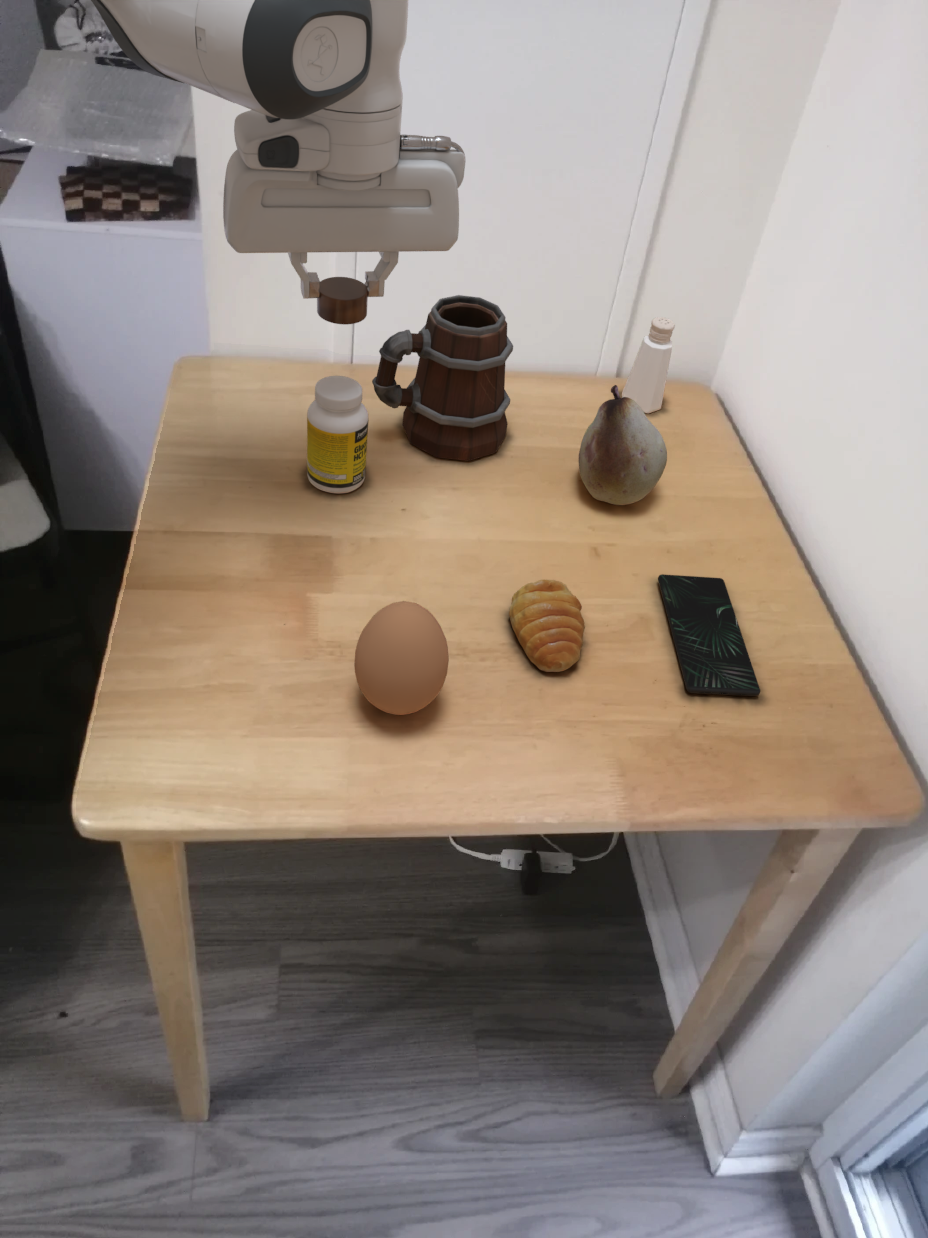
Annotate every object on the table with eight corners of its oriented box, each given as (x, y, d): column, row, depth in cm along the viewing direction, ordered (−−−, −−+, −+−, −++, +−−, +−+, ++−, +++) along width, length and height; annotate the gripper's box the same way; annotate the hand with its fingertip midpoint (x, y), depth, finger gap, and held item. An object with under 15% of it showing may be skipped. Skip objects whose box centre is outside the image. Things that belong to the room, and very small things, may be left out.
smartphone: (688, 688, 83) (658, 572, 94) (685, 696, 84) (655, 580, 94) (762, 692, 84) (724, 577, 94) (758, 699, 85) (721, 584, 95)
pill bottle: (362, 498, 98) (367, 407, 91) (303, 492, 98) (303, 400, 90) (367, 464, 103) (372, 374, 95) (311, 458, 102) (311, 367, 95)
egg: (342, 726, 77) (345, 634, 69) (364, 660, 82) (370, 568, 75) (432, 745, 77) (446, 655, 69) (449, 678, 82) (463, 587, 74)
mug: (484, 401, 115) (502, 283, 104) (516, 458, 107) (539, 338, 96) (359, 408, 110) (364, 287, 100) (382, 469, 102) (390, 344, 92)
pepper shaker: (613, 391, 120) (634, 310, 112) (652, 389, 121) (675, 310, 114) (628, 414, 116) (651, 333, 109) (668, 413, 118) (693, 332, 110)
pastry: (593, 676, 84) (602, 647, 81) (519, 678, 83) (526, 649, 80) (571, 603, 91) (579, 574, 88) (503, 604, 90) (508, 574, 87)
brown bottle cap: (321, 325, 85) (321, 300, 83) (313, 301, 88) (313, 276, 86) (371, 323, 86) (372, 299, 84) (361, 300, 89) (362, 275, 87)
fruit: (580, 455, 109) (602, 362, 100) (659, 475, 108) (689, 383, 99) (563, 505, 102) (586, 410, 93) (648, 528, 100) (679, 433, 92)
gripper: (457, 123, 81) (442, 277, 91) (214, 116, 75) (225, 280, 85) (478, 150, 77) (459, 308, 87) (222, 145, 71) (233, 314, 81)
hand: (341, 294), depth 86 cm, fingers closed on brown bottle cap, 4 cm apart
